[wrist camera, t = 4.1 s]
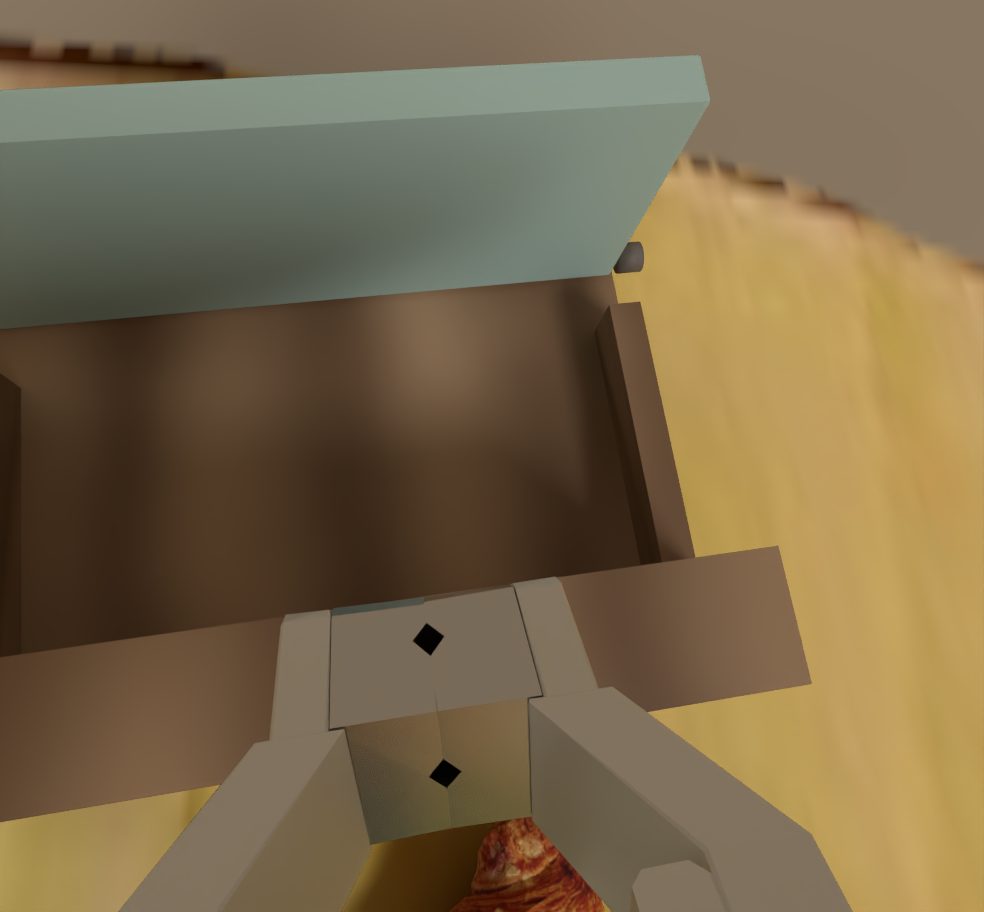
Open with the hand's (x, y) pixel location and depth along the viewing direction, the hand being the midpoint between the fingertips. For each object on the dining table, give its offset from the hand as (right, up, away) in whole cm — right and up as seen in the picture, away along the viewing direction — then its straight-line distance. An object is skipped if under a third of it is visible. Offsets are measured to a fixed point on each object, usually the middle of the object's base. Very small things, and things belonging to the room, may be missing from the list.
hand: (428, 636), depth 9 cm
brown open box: (-4, 0, +18) cm, 18 cm away
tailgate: (-5, +8, +17) cm, 19 cm away
